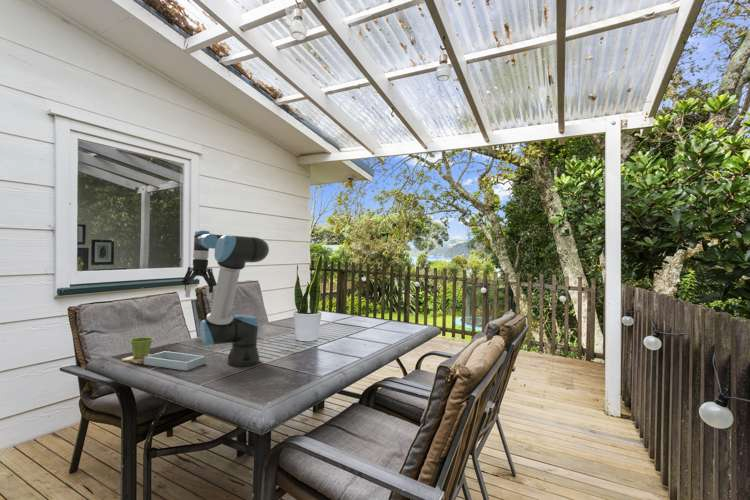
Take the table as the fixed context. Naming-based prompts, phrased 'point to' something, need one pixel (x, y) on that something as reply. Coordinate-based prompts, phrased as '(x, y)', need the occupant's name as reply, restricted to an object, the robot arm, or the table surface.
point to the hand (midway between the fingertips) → (198, 298)
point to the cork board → (131, 359)
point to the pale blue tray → (163, 361)
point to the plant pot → (141, 347)
